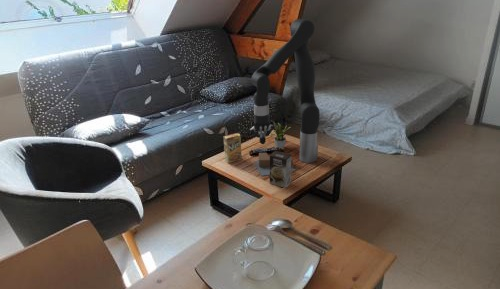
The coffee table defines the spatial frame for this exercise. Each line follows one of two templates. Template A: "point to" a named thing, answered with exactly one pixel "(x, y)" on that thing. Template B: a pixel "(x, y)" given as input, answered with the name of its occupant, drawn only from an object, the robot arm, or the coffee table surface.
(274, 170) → the coffee box
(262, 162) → the wooden block
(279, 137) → the house plant
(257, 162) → the slate rubber mat
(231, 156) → the candy box
